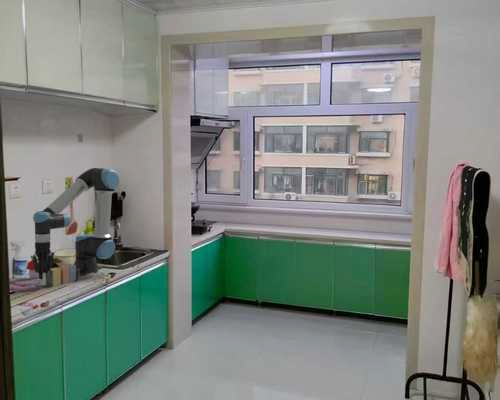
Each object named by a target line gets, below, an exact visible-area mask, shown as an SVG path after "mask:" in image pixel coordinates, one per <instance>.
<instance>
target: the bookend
mask: <svg viewBox="0 0 500 400" xmlns="http://www.w3.org/2000/svg"><path fill="white" fill-rule="evenodd" d="M41 287H42V288H45V289H50V288H53V287H54V286H53V270H50V271H48V273H47V278H46V285H41Z"/></svg>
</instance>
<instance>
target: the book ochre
mask: <svg viewBox="0 0 500 400" xmlns="http://www.w3.org/2000/svg"><path fill="white" fill-rule="evenodd" d="M50 270H53V287H57V286H60V285H62V284H61V269H60V268H58V267H51V269H50Z"/></svg>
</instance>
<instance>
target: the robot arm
mask: <svg viewBox="0 0 500 400" xmlns="http://www.w3.org/2000/svg"><path fill="white" fill-rule="evenodd" d="M119 184H120V176H119V173H118V172H117V171H116V170H115V169H112V168H102V167H92V168H89V169H87V170H86V171H84V172H83V173H81V174H80V175H78V176H77V177H76V178H75V180H74V182H73V183H72V184H71V185H70V186H69V187H68V188H67V189H65V191H63V192H62V193H61V194H60V195H59V196H57V197H56V199H54V200H53V201H51V203H50V204H49V205H47V207H45V208H44V209H43V210H39V211H36V212H35V213H34V214H33V216H32V220H33V222H34V241H35V242H34V248H35V251H34V254H33V255H30V259H31V260H33V264H34V269H35V272H37V273H39V278H38V279H39V284H40V285H41V286H42V285H46V278H47V273H48V271H50V269H51V268H52V263H53V258H54V256H55V252H52V250H51V230H55V229H63V228H67V227H69V226H70V224H71V216H70V215H69V214H68V213H62V212H64V210H66V208H68V206H70V205H71V204H72V203H73V202H74V201H75V200H76V199H77V198H78V197H80V196H81V195H83V193H84V192H87V191H89V189H92V188H94V190H93V191H94V192H95V193H96V204H95V217H94V218H95V220H94V221H95V222H94V233H87V234H80V235H77V236H76V237H75V241H74V242H75V245H74V246H75V247H74V248H75V260H74V263H73V265H76V268H78V269H79V274H81V273H82V274H87V273H92V274H95V273H97V272H99V266H98V263H97V259H100V260H101V259H102V260H106V259H107V260H108V259H109V258H111V257H112V255H114V253H115V250H116V243H114V240H113V237H112V235H111V234H110V230H111V229H110V226H111V214H112V213H111V212H112V210H111V209H112V195H113V194H114V193H115V189H116V188H118V186H119ZM96 258H97V259H96ZM37 259H38V261H37Z"/></svg>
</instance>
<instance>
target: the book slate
mask: <svg viewBox="0 0 500 400" xmlns="http://www.w3.org/2000/svg"><path fill="white" fill-rule="evenodd" d="M63 266H67V267H70V283H75V282H74V281H76V265H74V264H71V263H70V264H65V265H63ZM76 282H77V281H76Z"/></svg>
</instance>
